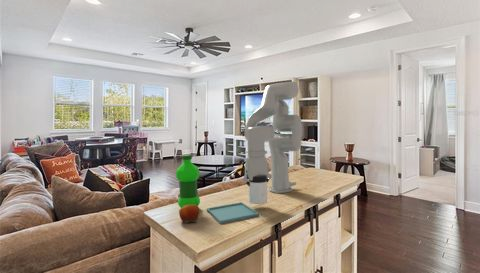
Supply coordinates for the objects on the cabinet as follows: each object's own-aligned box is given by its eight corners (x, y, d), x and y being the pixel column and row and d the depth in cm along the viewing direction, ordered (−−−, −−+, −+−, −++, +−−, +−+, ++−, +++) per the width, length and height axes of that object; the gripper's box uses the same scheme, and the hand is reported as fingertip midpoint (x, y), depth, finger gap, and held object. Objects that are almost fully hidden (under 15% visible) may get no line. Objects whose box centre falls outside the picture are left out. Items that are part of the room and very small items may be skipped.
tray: (241, 204, 122) (241, 202, 122) (258, 216, 107) (258, 213, 107) (207, 211, 115) (206, 208, 115) (220, 224, 100) (219, 220, 100)
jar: (255, 205, 111) (255, 177, 110) (244, 201, 118) (244, 174, 117) (271, 202, 116) (271, 175, 115) (260, 197, 123) (260, 172, 122)
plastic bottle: (191, 214, 111) (188, 157, 110) (173, 211, 116) (170, 156, 115) (205, 207, 120) (202, 154, 119) (187, 205, 125) (185, 153, 124)
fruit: (182, 224, 97) (179, 203, 100) (179, 228, 103) (177, 208, 107) (203, 220, 100) (200, 200, 104) (199, 224, 107) (196, 205, 110)
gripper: (268, 152, 122) (269, 190, 123) (235, 155, 116) (237, 195, 117) (277, 153, 116) (278, 193, 117) (242, 157, 109) (244, 199, 110)
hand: (257, 194), depth 117 cm, fingers closed on jar, 4 cm apart
